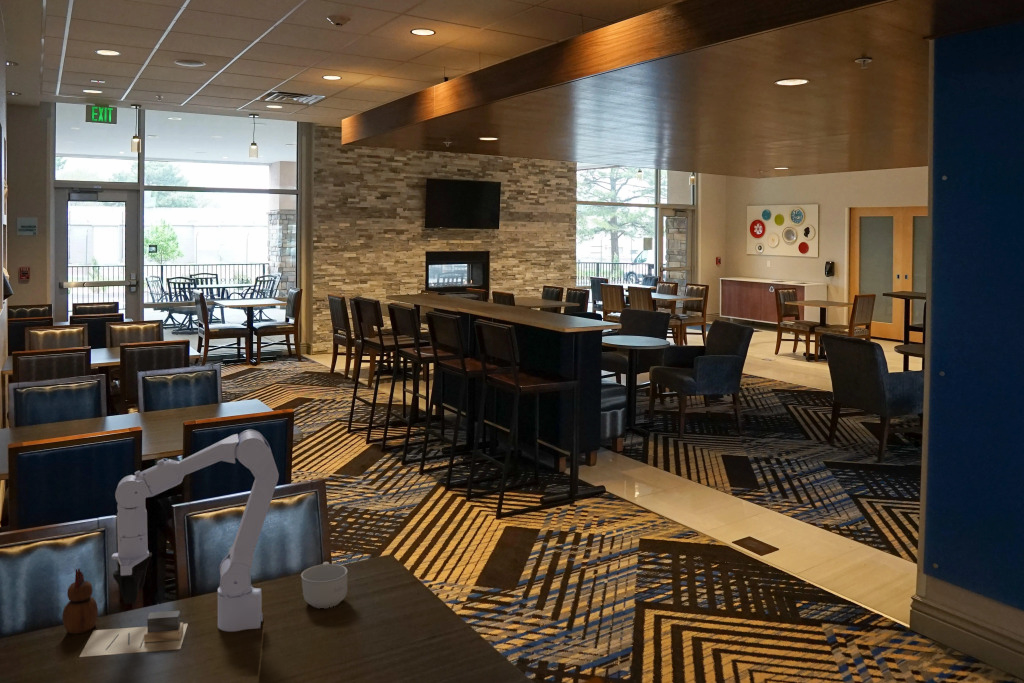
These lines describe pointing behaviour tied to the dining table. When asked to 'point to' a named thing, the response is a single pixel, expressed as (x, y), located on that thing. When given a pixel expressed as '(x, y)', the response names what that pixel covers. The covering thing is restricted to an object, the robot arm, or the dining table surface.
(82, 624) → the wooden figurine
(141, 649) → the board
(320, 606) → the teacup
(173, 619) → the block
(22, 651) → the dining table surface
